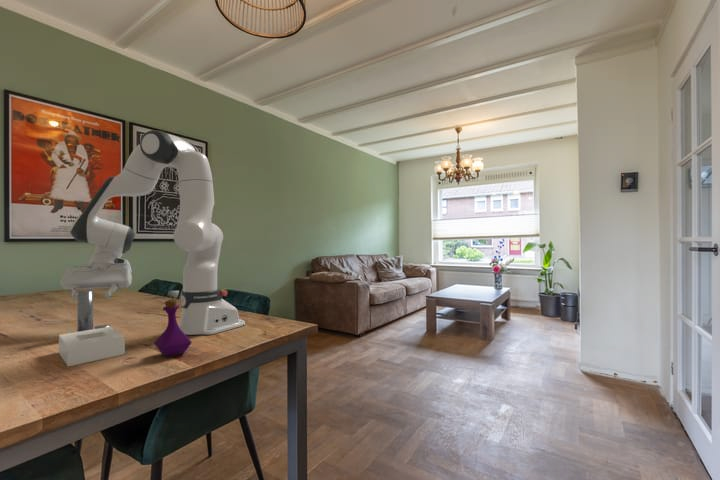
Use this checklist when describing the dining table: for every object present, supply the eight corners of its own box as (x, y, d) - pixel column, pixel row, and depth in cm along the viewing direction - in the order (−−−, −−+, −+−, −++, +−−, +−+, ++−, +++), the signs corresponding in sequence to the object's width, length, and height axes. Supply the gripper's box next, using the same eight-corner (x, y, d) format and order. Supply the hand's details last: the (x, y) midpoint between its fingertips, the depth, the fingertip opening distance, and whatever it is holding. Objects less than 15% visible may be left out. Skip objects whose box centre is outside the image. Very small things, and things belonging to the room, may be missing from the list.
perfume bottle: (153, 354, 92) (153, 290, 92) (182, 348, 97) (182, 287, 97) (162, 361, 87) (162, 293, 87) (191, 354, 92) (192, 290, 92)
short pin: (108, 337, 108) (109, 324, 108) (112, 340, 105) (112, 326, 105) (93, 340, 105) (93, 326, 105) (96, 342, 102) (96, 328, 102)
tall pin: (91, 334, 111) (91, 290, 111) (94, 336, 109) (94, 291, 109) (76, 336, 108) (76, 291, 108) (78, 339, 106) (78, 292, 106)
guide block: (110, 342, 102) (110, 326, 102) (124, 354, 92) (124, 336, 92) (58, 352, 93) (58, 334, 93) (67, 366, 83) (67, 346, 83)
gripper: (65, 260, 116) (49, 292, 107) (132, 260, 123) (123, 289, 114) (72, 272, 121) (57, 303, 111) (136, 270, 127) (127, 300, 118)
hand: (91, 296), depth 113 cm, fingers open, 8 cm apart
